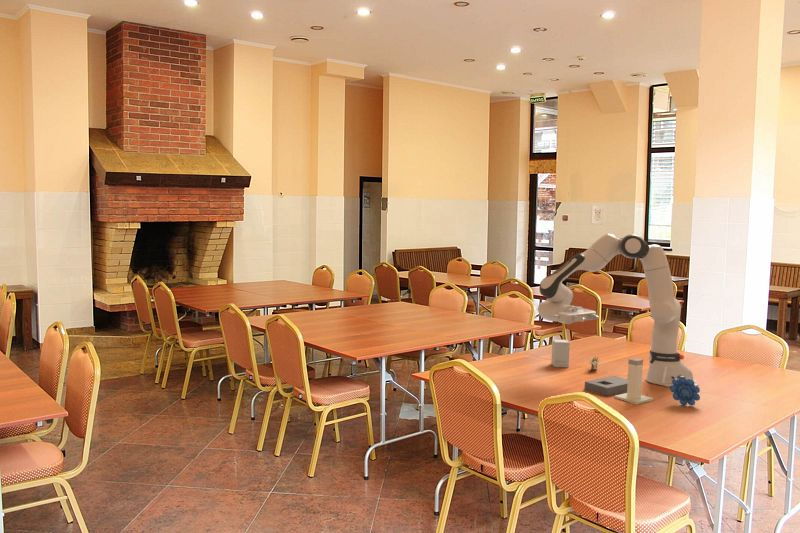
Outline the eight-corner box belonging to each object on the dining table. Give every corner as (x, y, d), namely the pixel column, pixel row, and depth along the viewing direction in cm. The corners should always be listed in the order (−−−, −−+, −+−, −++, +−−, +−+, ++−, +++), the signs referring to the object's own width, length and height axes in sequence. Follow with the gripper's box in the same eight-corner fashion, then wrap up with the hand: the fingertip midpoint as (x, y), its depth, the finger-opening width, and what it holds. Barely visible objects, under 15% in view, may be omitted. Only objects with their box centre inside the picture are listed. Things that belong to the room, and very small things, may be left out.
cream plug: (632, 395, 287) (634, 357, 286) (640, 397, 284) (642, 359, 282) (626, 396, 285) (628, 359, 283) (634, 398, 282) (636, 360, 280)
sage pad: (630, 394, 292) (630, 391, 292) (653, 400, 283) (653, 398, 283) (614, 398, 286) (614, 395, 286) (636, 404, 277) (636, 402, 277)
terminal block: (613, 383, 310) (614, 375, 309) (636, 389, 300) (636, 381, 299) (584, 389, 298) (584, 381, 298) (606, 396, 288) (607, 388, 288)
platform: (609, 368, 339) (610, 355, 338) (604, 376, 323) (605, 363, 322) (584, 365, 344) (585, 353, 343) (578, 373, 327) (579, 360, 327)
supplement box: (569, 367, 338) (570, 342, 336) (554, 367, 338) (555, 342, 337) (565, 364, 345) (566, 339, 344) (551, 363, 345) (552, 339, 344)
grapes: (669, 406, 275) (670, 377, 274) (668, 402, 281) (670, 373, 280) (700, 410, 271) (702, 380, 270) (699, 405, 278) (700, 376, 276)
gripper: (551, 309, 309) (575, 313, 297) (581, 306, 320) (605, 310, 309) (551, 322, 309) (574, 327, 298) (581, 319, 321) (605, 323, 309)
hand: (590, 318), depth 303 cm, fingers open, 8 cm apart
